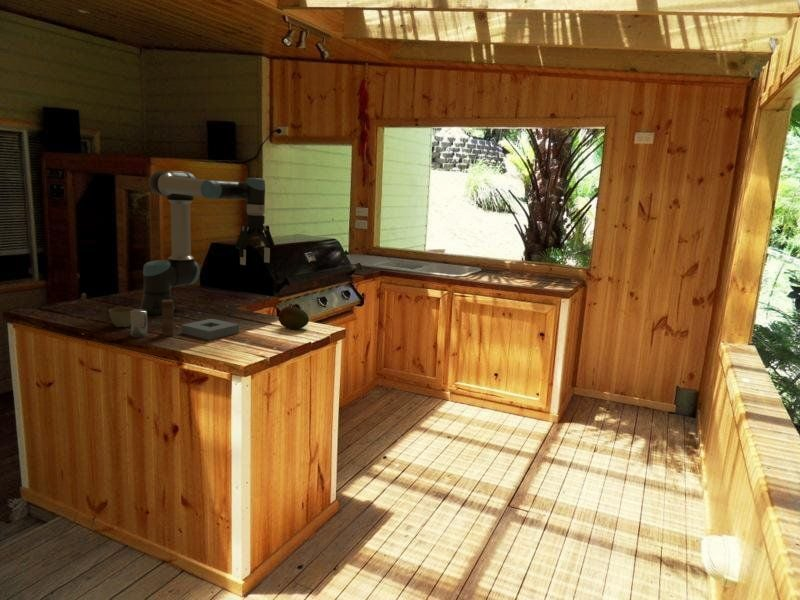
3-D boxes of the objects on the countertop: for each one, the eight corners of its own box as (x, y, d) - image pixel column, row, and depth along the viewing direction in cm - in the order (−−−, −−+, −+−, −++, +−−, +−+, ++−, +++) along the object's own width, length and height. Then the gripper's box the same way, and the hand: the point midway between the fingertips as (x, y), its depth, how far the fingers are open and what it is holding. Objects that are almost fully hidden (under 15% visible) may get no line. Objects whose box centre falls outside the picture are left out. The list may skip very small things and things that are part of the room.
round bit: (127, 335, 238) (127, 310, 236) (140, 332, 243) (140, 308, 241) (137, 338, 235) (137, 313, 233) (150, 335, 240) (150, 310, 238)
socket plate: (181, 333, 246) (181, 324, 245) (211, 326, 260) (211, 318, 259) (209, 340, 238) (209, 331, 238) (238, 332, 252) (238, 324, 252)
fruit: (274, 327, 265) (275, 304, 263) (300, 324, 273) (300, 302, 271) (286, 333, 256) (287, 310, 254) (312, 330, 264) (313, 307, 262)
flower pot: (141, 325, 255) (140, 308, 253) (123, 330, 245) (122, 313, 244) (122, 322, 258) (121, 306, 256) (103, 327, 248) (103, 310, 247)
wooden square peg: (163, 333, 244) (162, 299, 241) (173, 333, 245) (173, 299, 242) (162, 336, 240) (161, 301, 238) (173, 335, 241) (172, 301, 239)
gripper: (238, 215, 247) (238, 266, 251) (283, 214, 267) (282, 262, 271) (226, 214, 251) (226, 264, 255) (271, 213, 272) (270, 260, 276)
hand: (255, 263), depth 263 cm, fingers open, 13 cm apart
